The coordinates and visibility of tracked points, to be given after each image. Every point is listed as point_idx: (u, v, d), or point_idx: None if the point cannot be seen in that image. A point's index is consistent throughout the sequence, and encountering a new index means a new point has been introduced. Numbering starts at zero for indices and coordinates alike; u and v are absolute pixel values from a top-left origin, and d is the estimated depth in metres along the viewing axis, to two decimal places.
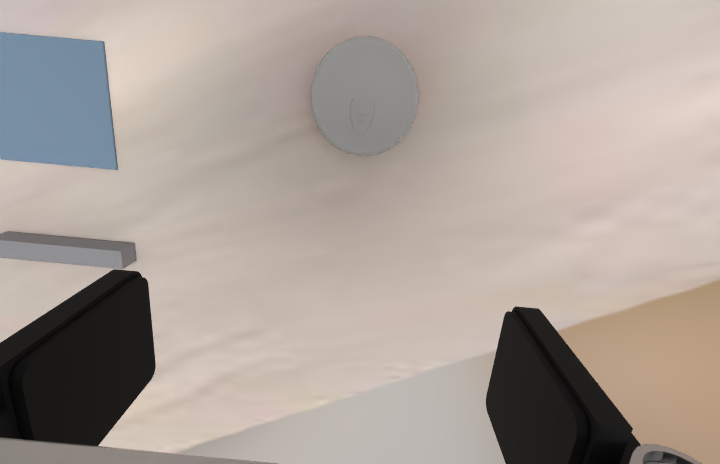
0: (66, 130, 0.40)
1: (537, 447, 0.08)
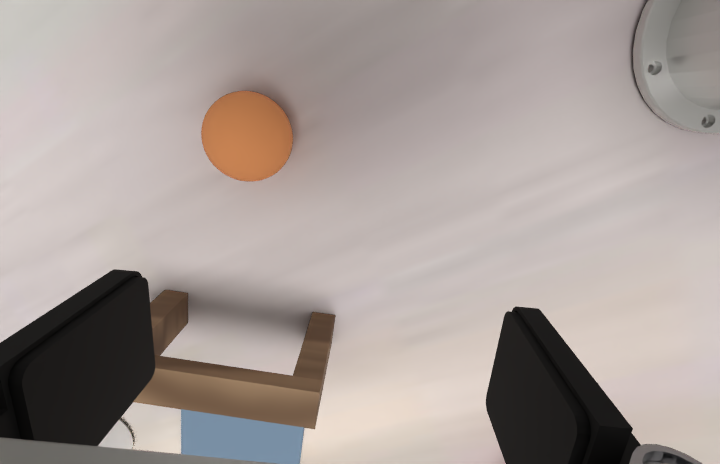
0: None
1: (537, 447, 0.08)
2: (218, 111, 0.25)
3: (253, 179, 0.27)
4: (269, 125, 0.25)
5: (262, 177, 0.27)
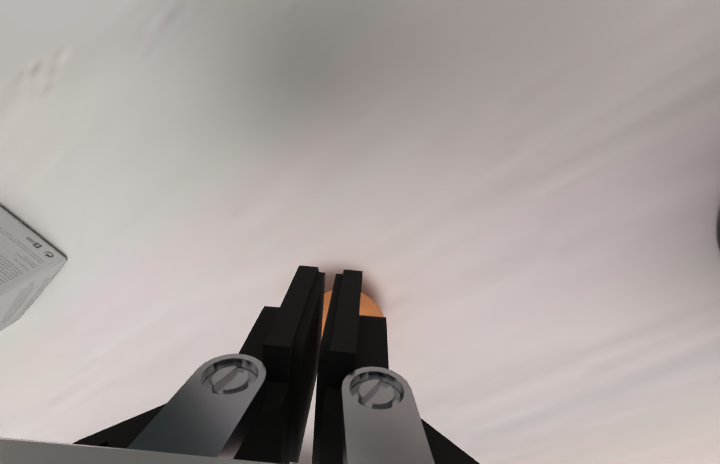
0: None
1: None
2: (322, 327, 0.25)
3: None
4: None
5: None
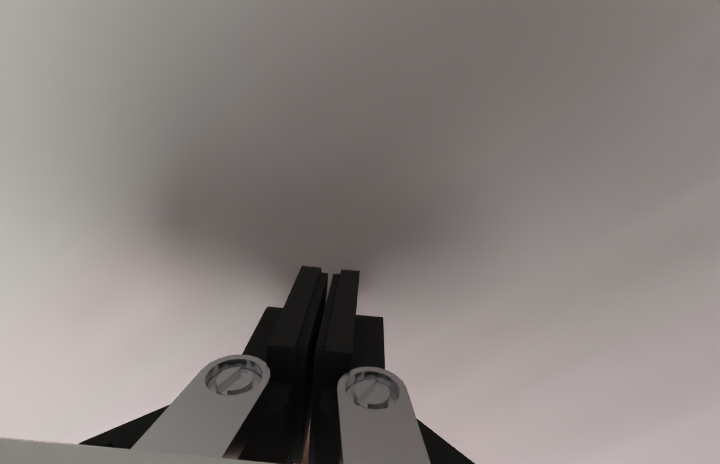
0: None
1: None
2: None
3: None
4: None
5: None
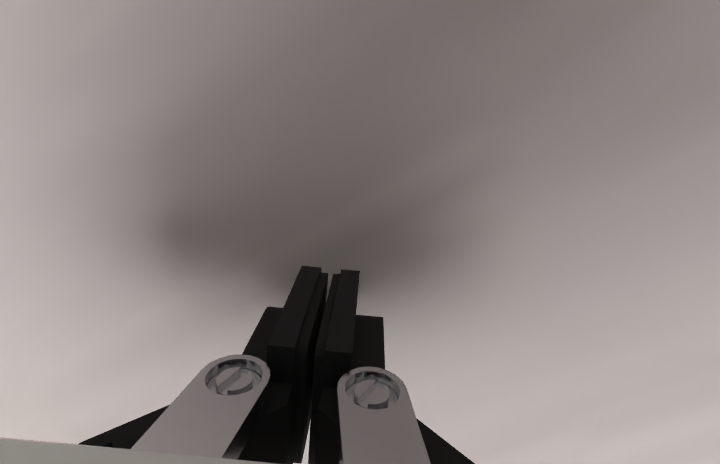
0: None
1: None
2: None
3: None
4: None
5: None
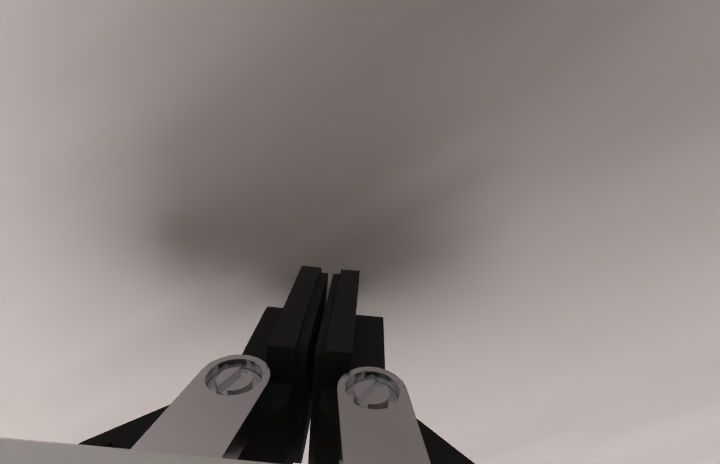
0: None
1: None
2: None
3: None
4: None
5: None
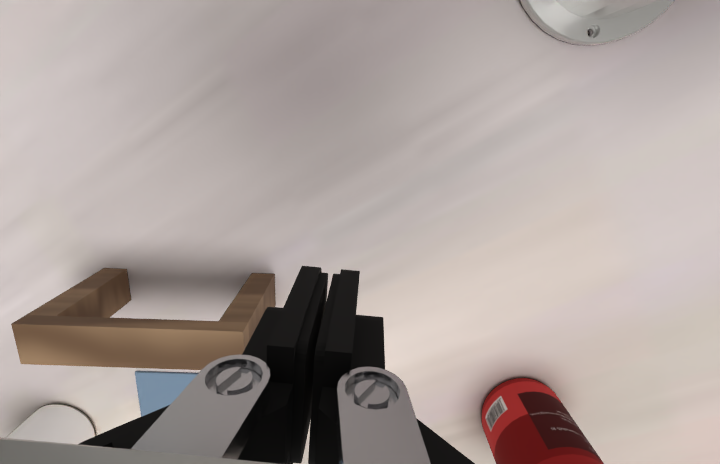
0: None
1: None
2: None
3: None
4: None
5: None
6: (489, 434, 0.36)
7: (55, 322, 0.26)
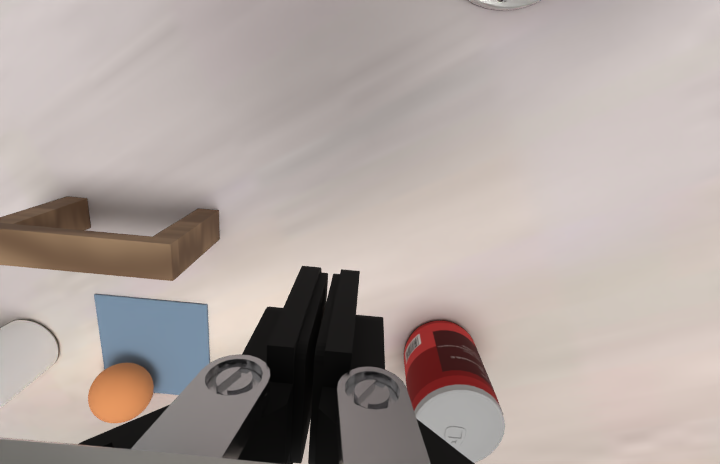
0: (168, 368, 0.45)
1: None
2: None
3: (116, 408, 0.40)
4: (142, 372, 0.43)
5: (123, 407, 0.40)
6: (405, 366, 0.40)
7: (10, 228, 0.30)
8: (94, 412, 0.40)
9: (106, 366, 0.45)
